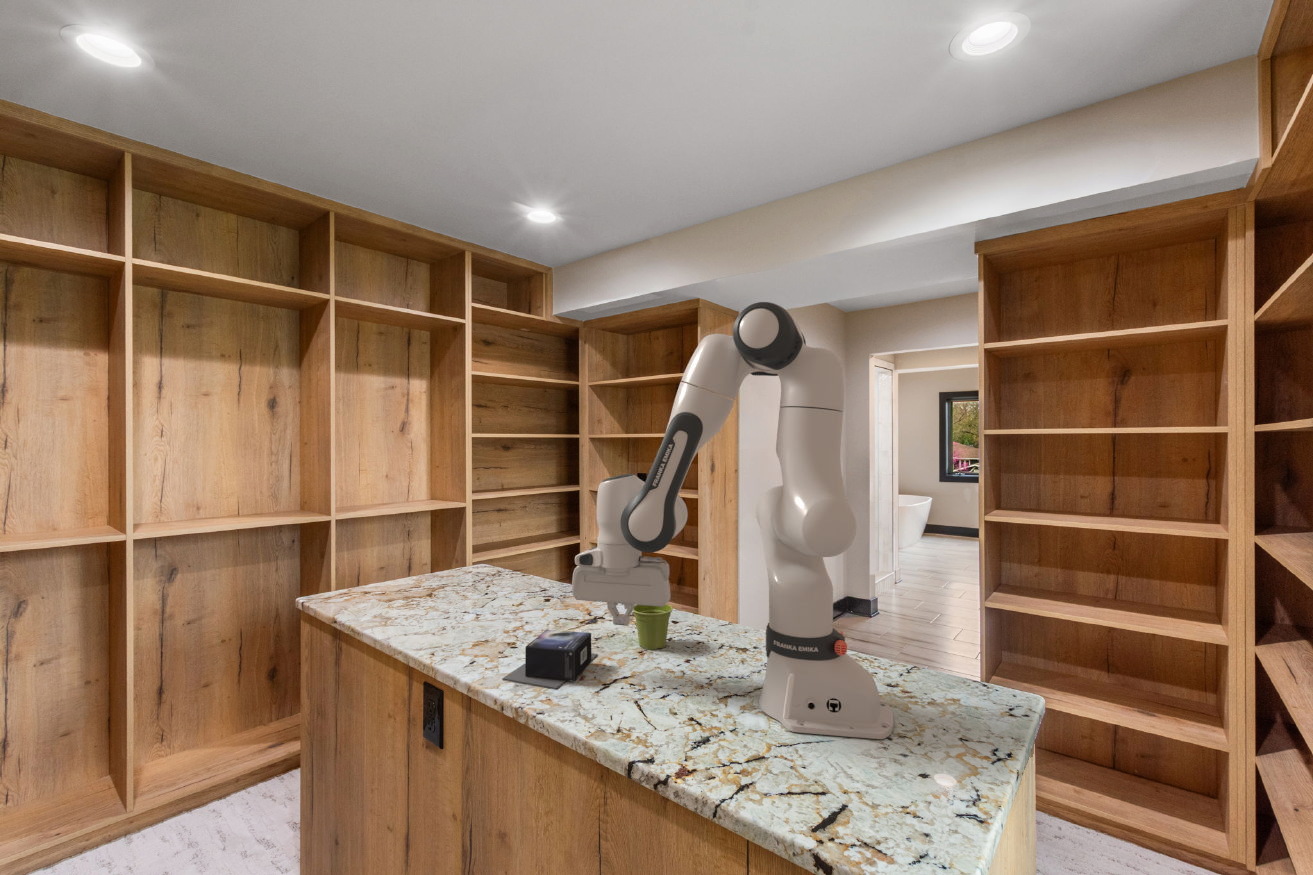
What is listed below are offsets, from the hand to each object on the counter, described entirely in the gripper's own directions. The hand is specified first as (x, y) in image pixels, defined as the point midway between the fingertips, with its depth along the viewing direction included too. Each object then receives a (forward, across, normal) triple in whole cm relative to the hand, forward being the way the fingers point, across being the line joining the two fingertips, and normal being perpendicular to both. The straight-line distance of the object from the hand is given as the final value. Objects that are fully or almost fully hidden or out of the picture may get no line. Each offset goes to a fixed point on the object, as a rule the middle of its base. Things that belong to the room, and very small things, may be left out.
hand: (621, 624), depth 114 cm
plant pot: (+11, 0, -18) cm, 21 cm away
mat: (+10, +15, +1) cm, 18 cm away
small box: (+6, +8, +2) cm, 10 cm away
